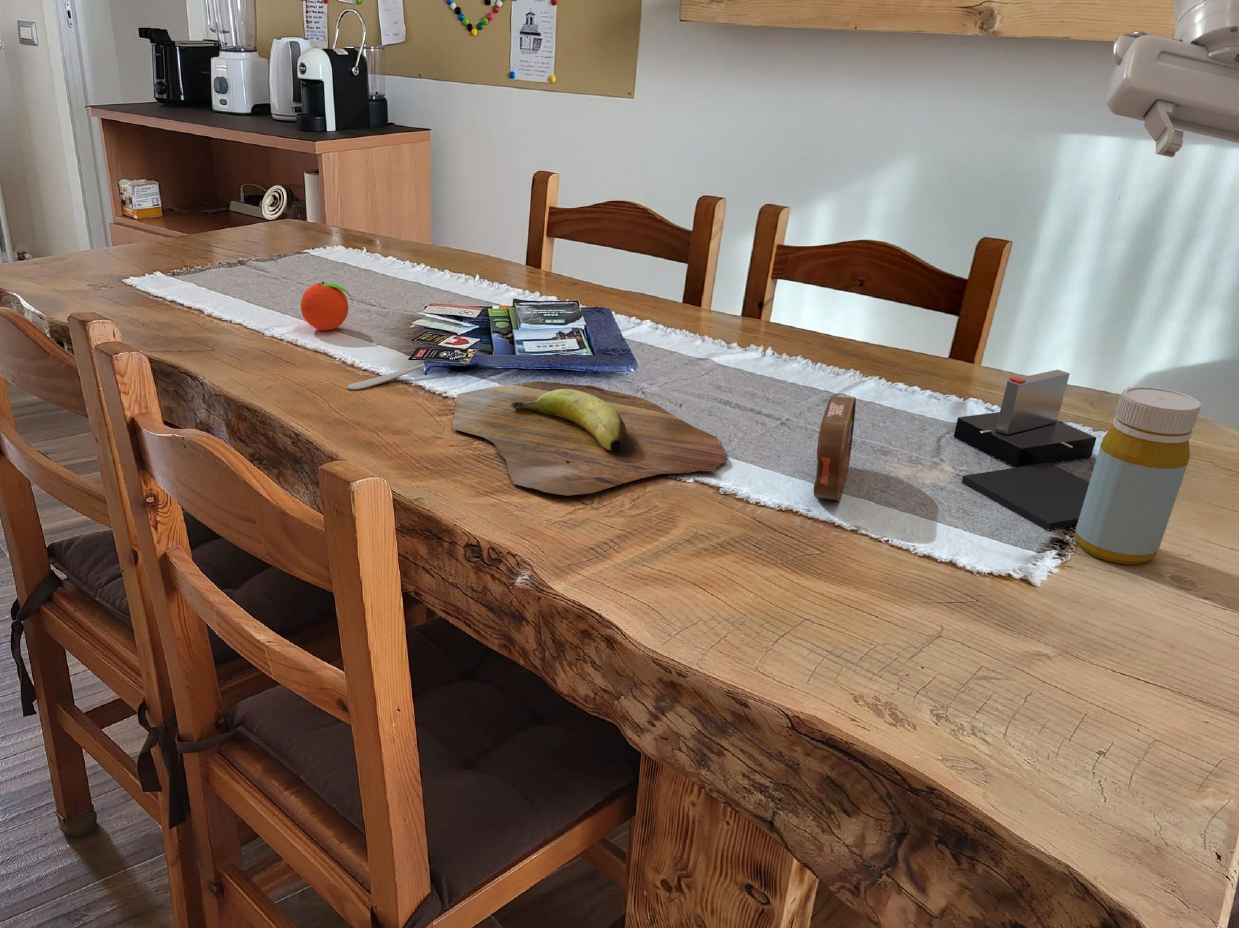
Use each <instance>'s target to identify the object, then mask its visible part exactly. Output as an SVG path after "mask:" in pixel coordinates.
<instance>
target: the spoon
mask: <svg viewBox="0 0 1239 928" xmlns="http://www.w3.org/2000/svg"><path fill="white" fill-rule="evenodd" d="M425 367H426V366H425V365H424V364H423V363H420V364H417V365H414V366H410V367H407V368H404V369H401V370H397V371H394V372H391V373H387V374H384V375H381V376H377V377H373V378H369V379H365V380H362V381H357V382H354V383H351V384H348V385H347V386H346V388H347V390H350V391H359V390H364V389H368V388H371V387H374V386H378V385H380V384H384V383H386V382H390V381H393V380H395V379H397V378H399V377H402V376H405V375H407V374H409V373H411V372H414V371H417V370H419V369H423V368H425Z"/></svg>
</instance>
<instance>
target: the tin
mask: <svg viewBox="0 0 1239 928" xmlns="http://www.w3.org/2000/svg"><path fill="white" fill-rule="evenodd" d="M856 399H857V398H856V397H855V396H853V397H844V396H831V397H830V398H829V400H828V402H827V405H826V408H825V410H824V413H823V416H822V420H821V423H820V427H819V433H818V438H817V446H816V460H817V461H816V462H817V465H816V477H815V482H814V484H813V497H815V498H817V499H821V500H822V499H823V500H832V501H837V502H840V501H841V500H842V497H843V491H844V488H845V484H846V480H847V476H848V472H849V466H850V461H851V454H852V453H851V452H852V447H853V446H852V445H853V437H854V436H853V435H854V428H855V419H856V406H857V405H856V404H857V400H856Z"/></svg>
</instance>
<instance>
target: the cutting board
mask: <svg viewBox="0 0 1239 928" xmlns="http://www.w3.org/2000/svg"><path fill="white" fill-rule="evenodd" d="M452 430H456V431H459V432H463V433H465V434H469V435H471V436H476V437H482V438H483V439H485V440H486V441H488V442H491V443H492V444H494V446H495V448H496V449H497V451H498V453H499V454H500V456H502V458H503V459H504V460H505V463H506V466H507V470H508V471H507V472H508V475H509V478H510V480H511V482H512V484H513V485H516V486H521V487H524V488H527V489H534V490H537V491H540V492H542V493H548V494H554V495H561V496H566V497H567V496H575V495H585V494H595V493H597V492H600V491H603V490H607V489H610V488H613V487H617V486H620V485H622V484H627V483H629V482H632V481H638V480H641V479H645V478H649V477H653V476H658V475H664V474H667V475H669V474H691V473H693V472H712V473H718V470H717V468H718V467H719V466H721V465H722V464H724V463H725V462H726V461H728V460H729V458H728V455H727V454H726V452H725V450H724V449H723V446H722V444H721V442H720V440H719V438H718V437H717V436H716V435H713V434H711V433H710V432H709V433H708V432H706V431H705V430H702V429H701V428H698V427H695V426H694V425H691V424H690V423H688V422H687V421H685V420H682V419H681V418H679V417H677V416H675V415H674V414H672V413H671V412H669V411H668V410H666V409H664V408H663V407H661V406H660V405H658V404H656V403H654V402H652V401H649V400H647V399H645V398H643V397H639V396H635V395H631V394H626V393H622V392H618V391H613V390H608V389H605V388H601V387H599V386H595V385H591V384H586V385H585V384H573V383H561V382H549V381H533V382H530V381H529V382H522V383H514V384H513V383H512V384H506V385H499V386H491V387H486V388H481V389H475V390H471V391H465V392H460V393H458V394H456V400H455V407H454V414H453V420H452Z"/></svg>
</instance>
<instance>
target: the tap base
mask: <svg viewBox="0 0 1239 928" xmlns="http://www.w3.org/2000/svg"><path fill="white" fill-rule="evenodd" d="M983 409H984V410H987V411H989V412H990V413H982V414H980V413H979V414H973V415H966V416H958V417H957V420H956V425H955V427H954V433H953V438H954V439H957V440H959V441H960V442H963V443H965V442H966V443H965V444H967V443H968V444H967V445H969V446H971V445H972V446H973V447H972V446H971V447H972V448H974V447H975V449H976V448H978V449H979V450H978V449H977V450H978V451H980V450H981V451H980V452H982V451H984V452H985V453H984V452H983V453H984V454H986V453H988V454H989V455H988V454H987V455H988V456H990V455H991V456H990V457H992V456H994V457H995V458H994V457H993V458H994V459H996V458H997V459H996V460H998V459H1000V460H1001V461H1000V460H999V461H1000V462H1002V461H1004V462H1006V463H1007V464H1006V463H1005V464H1006V465H1008V464H1010V465H1012V466H1013V467H1015V468H1017V467H1023V466H1030V465H1037V464H1043V463H1051V464H1057V463H1056V462H1059V463H1063V462H1062V461H1066V462H1072V461H1076V460H1075V459H1079V460H1085V459H1090V457H1091V458H1092V455H1093V453H1094V448H1095V445H1096V442H1097V437H1096V436H1094V435H1092V434H1090V433H1087V432H1085V431H1082V430H1080V429H1079V428H1077V427H1074V426H1071V425H1069V424H1067V423H1071V422H1072V419H1061V420H1058V419H1057V422H1056V423H1052V424H1048V425H1044V426H1040V427H1036V428H1033V429H1029V430H1025V431H1021V432H1017V433H1013V434H1009V435H1006V434H1003V433H1000V432H998V431H996V430H995V429H996V425H997V421H998V417H999V413H1000V411H997V412H995V409H992V408H990V407H988V406H983ZM1071 460H1072V461H1071ZM1004 462H1003V463H1004ZM1013 467H1012V468H1013Z"/></svg>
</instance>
